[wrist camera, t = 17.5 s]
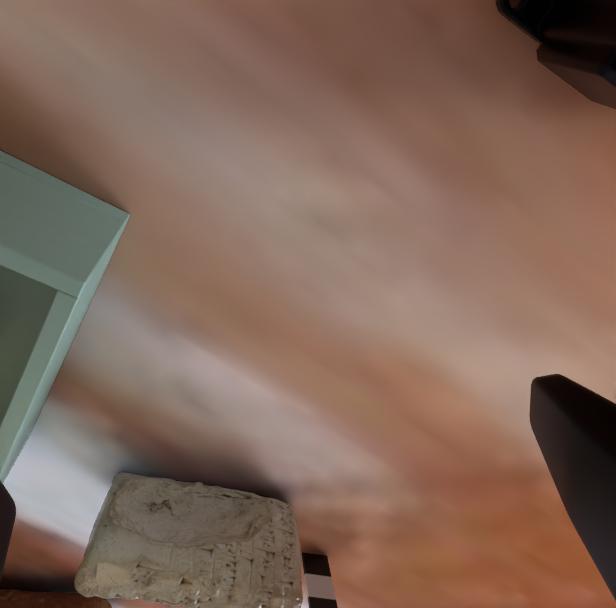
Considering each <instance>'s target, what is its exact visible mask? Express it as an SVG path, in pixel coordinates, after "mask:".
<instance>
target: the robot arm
mask: <svg viewBox="0 0 616 608" xmlns="http://www.w3.org/2000/svg"><path fill="white" fill-rule="evenodd" d="M496 5H497V8H498V11H499V12H500V13H501V15H503V16H504V17H505V18H506V19H508V20H509V21H510V22H512V23H513V24H514V25H516V26H517V27H518V28H519V29H521V30H522V31H523V32H525V33H526V34H527V35H529V36H530V37H531V38H533V39H534V40H535V41H536V42H538V43H539V44H540V46H539V48H538V49H537V59H538V61H539V62H541V63H542V64H543V65H545V66H546V67H547V68H549V69H550V70H551V71H553V72H554V73H555V74H557V75H558V76H559V77H561V78H562V79H563V80H564V81H566V82H567V83H568V84H570V85H571V86H572V87H574V88H575V89H576V90H578V91H579V92H580V93H582V94H583V95H584V96H586V97H587V98H588V99H590V100H591V101H593V102H596V103H599V104H602V105H605V106H608V107H611V108H614V109H616V0H520V3H519V4H518V5H517V6H516V7H515V8H512V7H511V5H510V4H509V0H497V1H496ZM530 423H531V427H532V430H533V432H534V435H535V437H536V440H537V442H538V444H539V447H540V449H541V452H542V454H543V456H544V459H545V461H546V464H547V466H548V468H549V471H550V473H551V475H552V478H553V480H554V483H555V485H556V487H557V490H558V492H559V495H560V497H561V499H562V502H563V504H564V506H565V508H566V511H567V513H568V515H569V517H570V519H571V521H572V523H573V525H574V527H575V529H576V530H577V532H578V534H579V536H580V538H581V539H582V541H583V543H584V545H585V547H586V548H587V550H588V552H589V554H590V556H591V557H592V559H593V561H594V563H595V565H596V566H597V568H598V570H599V572H600V574H601V575H602V577H603V579H604V581H605V582H606V584H607V586H608V588H609V590H610V591H611V593H612V595H613V597H614V599H615V600H616V404H615V403H613V402H611V401H609V400H608V399H606V398H604V397H602V396H600V395H598V394H596V393H595V392H593V391H591V390H589V389H587V388H585V387H583V386H581V385H580V384H578V383H576V382H574V381H572V380H570V379H568V378H567V377H565V376H562V375H560V374H553V375H547V376H541V377H536V378H535V379H534V380H533V381H532V384H531V399H530ZM15 516H16V507H15V503H14V501H13V499H12V497H11V496H10V494H9V493H8V491H7V490H6V488H5V487H4V485H3V484H2V482H1V480H0V581H1V577H2V572H3V568H4V564H5V560H6V555H7V551H8V547H9V543H10V538H11V534H12V530H13V526H14V521H15Z"/></svg>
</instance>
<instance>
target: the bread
mask: <svg viewBox="0 0 616 608" xmlns="http://www.w3.org/2000/svg"><path fill="white" fill-rule="evenodd" d="M0 608H112V607H111V604H110V603H109V602H108V601H107V600H106V599H104V598H101V597H96V596H93V597H85V596H83V595H81V594H80V593H66V592H34V591H20V590H18V589H0Z"/></svg>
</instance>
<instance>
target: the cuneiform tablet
mask: <svg viewBox="0 0 616 608" xmlns="http://www.w3.org/2000/svg"><path fill="white" fill-rule="evenodd" d="M302 562H303V569H304V576H305V582H306V589H307V596H308V603H309V608H337V603H336V598H335V593H334V588H333V583H332V578H331V573H330V568H329V563H328V558H327V556H323V555H316V554H309V553H302ZM74 585H75V589H76V590H77V592H79V593H80V594H81V595H83V596H85V597H93V596H96V597H101V598H104V599H112V598H119V599H123V600H134V599H143V600H145V601H146V602H150V603H154V602H158V603H161V604H165V605H168V606H170V607H176V606H179V605H181V606H182V607H183V608H301V605H302V600H303V593H302V581H301V547H300V540H299V534H298V527H297V521H296V515H295V511H294V509H293V507H292V506H291V504H290V503H285V502H283V501H279V500H278V499H275V498H269V497H262V496H259V495H256V494H255V493H249V492H244V491H239V490H234V489H227V488H222V487H219V486H208V485H203V483H201V482H193V483H191V482H181V481H175V480H174V479H166V478H157V477H147V476H141V475H137V474H132V473H123V472H121V473H117V474H116V475H115V476H114V478H113V481H112V485H111V487H110V489H109V491H108V494H107V496H106V498H105V500H104V503H103V505H102V507H101V510H100V512H99V514H98V516H97V518H96V521H95V523H94V525H93V529H92V532H91V534H90V538H89V542H88V545H87V548H86V551H85V554H84V559H83V561H82V563H81V565H80V567H79V570H78V573H77V575H76V577H75V582H74Z"/></svg>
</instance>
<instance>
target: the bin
mask: <svg viewBox="0 0 616 608" xmlns="http://www.w3.org/2000/svg"><path fill="white" fill-rule="evenodd" d="M129 217H130V214H128V213H126V212H124V211H122V210H120V209H118V208H116V207H114V206H112V205H110V204H108V203H106V202H104V201H102V200H100V199H98V198H96V197H94V196H92V195H90V194H88V193H86V192H84V191H82V190H80V189H78V188H75V187H73V186H71V185H69V184H67V183H65V182H63V181H61V180H59V179H57V178H55V177H53V176H51V175H49V174H47V173H45V172H43V171H41V170H39V169H37V168H35V167H33V166H31V165H29V164H27V163H25V162H23V161H21V160H19V159H17V158H15V157H12V156H10V155H8V154H6V153H4V152H2V151H0V480H1V482H2V484H3V483H4V481H5V479H6V477H7V476H8V474H9V472H10V470H11V468H12V467H13V465H14V463H15V461H16V459H17V458H18V456H19V454H20V452H21V450H22V449H23V447H24V445H25V443H26V441H27V440H28V438H29V435H30V433H31V431H32V429H33V427H34V424H35V422H36V420H37V418H38V416H39V413H40V411H41V409H42V407H43V405H44V403H45V400H46V398H47V396H48V394H49V392H50V389H51V387H52V385H53V383H54V381H55V379H56V376H57V374H58V372H59V370H60V368H61V365H62V363H63V361H64V359H65V357H66V354H67V352H68V350H69V348H70V346H71V344H72V341H73V339H74V337H75V335H76V333H77V330H78V328H79V326H80V324H81V322H82V319H83V317H84V315H85V313H86V311H87V309H88V306H89V304H90V302H91V300H92V298H93V295H94V293H95V291H96V289H97V287H98V285H99V282H100V280H101V278H102V276H103V274H104V271H105V269H106V267H107V265H108V263H109V260H110V258H111V256H112V254H113V252H114V250H115V247H116V245H117V243H118V241H119V239H120V236H121V234H122V232H123V230H124V228H125V225H126V223H127V221H128V219H129Z"/></svg>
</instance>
